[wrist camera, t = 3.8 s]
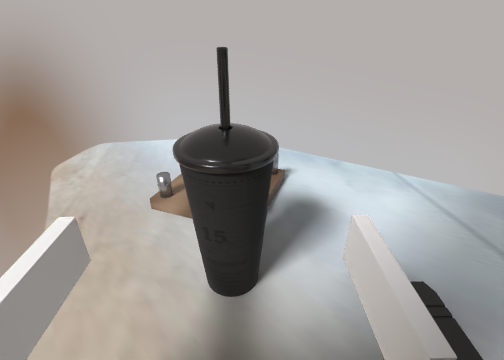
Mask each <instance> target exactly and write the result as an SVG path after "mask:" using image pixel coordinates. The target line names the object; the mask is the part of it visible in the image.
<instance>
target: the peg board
mask: <svg viewBox="0 0 504 360" xmlns="http://www.w3.org/2000/svg"><path fill="white" fill-rule="evenodd" d="M278 155H279V154H277V156H276V158H275V159H274V162H273V169H272V176H271V184H270V191H269V198H268V205H269V203H270V202H271V200H272V198H273V196H274V195H275V193H276V191H277V190H278V188H279V186H280V185H281V183H282V181H283V180H284V171H285V170H281V169H278ZM157 181H158V187H159V192H158V193H156V194H155V195H154V196H152V197H151V198H150V203H151V207H152V209H156V210H160V211H164V212H168V213H172V214H176V215H180V216H184V217H188V218H192V214H191V210H190V206H189V202H188V197H187V193H186V189H185V185H184V181H183V177H182V174H181V175H179V176H178V177H177V178H175V179H174V180H173V181H172V182H171V179H170V174H169V173H168V172H161V173H158V174H157ZM268 205H267V207H268ZM192 219H193V218H192Z"/></svg>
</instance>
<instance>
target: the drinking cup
mask: <svg viewBox="0 0 504 360" xmlns="http://www.w3.org/2000/svg"><path fill="white" fill-rule="evenodd" d="M217 64H218V82H219V83H218V84H219V102H220V119H221V120H220V121H221V124H214V125H209V126H206V127H203V128H200V129H198V130H196V131H194V132H191V133H189V134H187V135H184V136H183V137H181V138H179V139H178V140H177V141H176V142H175V144H174V146H173V155H174V158H175V159H176V161H177V162H178V163H179V164H180V168H181V173H182V177H183V181H184V185H185V189H186V193H187V197H188V202H189V206H190V210H191V214H192V218H193V222H194V226H195V231H196V235H197V239H198V243H199V247H200V251H201V255H202V259H203V264H204V268H205V272H206V276H207V280H208V284H209V286H210V287H211V288H212V289H213V290H214V291H215V292H216V293H218V294H220V295H223V296H230V297H233V296H239V295H242V294H245V293H247V292H248V291H250V290H251V289H252V288H253V287H254V285H255V284H256V282H257V278H258V271H259V263H260V256H261V249H262V242H263V234H264V227H265V220H266V213H267V205H268V198H269V191H270V184H271V176H272V169H273V162H274V159H275V158H276V156H277V154H278V151H279V145H278V142H277V140H276V139H275V138H274V137H273V136H271V135H270V134H268V133H265V132H263V131H260V130H257V129H255V128H252V127H249V126H246V125H241V124H234V123H230V104H229V77H228V49H227V47H217Z"/></svg>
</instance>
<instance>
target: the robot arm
mask: <svg viewBox="0 0 504 360" xmlns="http://www.w3.org/2000/svg"><path fill="white" fill-rule="evenodd" d="M343 259H344V262H345V264H346V266H347V269H348V271H349V274H350V276H351V279H352V281H353V284H354V286H355V289H356V291H357V293H358V296H359V298H360V301H361V303H362V306H363V308H364V311H365V313H366V315H367V318H368V320H369V323H370V325H371V328H372V330H373V333H374V335H375V337H376V340H377V342H378V345H379V347H380V350H381V352H382V355H383V357H384V360H483V359H482V358H481V356H480V355H479V353H478V352H477V350H476V349H475V348H474V346H473V345H472V343H471V342H470V340H469V339H468V337H467V336H466V335H465V333H464V332H463V330H462V329H461V327H460V326H459V325H458V323H457V322H456V320H455V319H453V318H452V315H451V313H450V312H449V310H448V309H447V308H445V305H444V303H443V302H442V300H441V299H440V297H439V296H438V295H437V293H436V292H435V291H434V290H433V289H431V288H430V287H429V286H428V285H427V284H425V283H424V282H410V281H409V280H408V278H407V276H406V275H405V273H404V272H403V270H402V268H401V267H400V265H399V264H398V262H397V260H396V259H395V257H394V256H393V254H392V252H391V251H390V249H389V248H388V246H387V244H386V243H385V241H384V240H383V238H382V237H381V235H380V233H379V232H378V230H377V229H376V227H375V225H374V224H373V222H372V221H371V219H370V217H369V216H368V215H352V218H351V223H350V227H349V232H348V237H347V241H346V246H345V251H344V255H343ZM90 261H91V259H90V256H89V254H88V251H87V248H86V246H85V243H84V240H83V237H82V235H81V232H80V229H79V226H78V224H77V221H76V218H75V217H58V218H57V219H56V220H55V221H54V223H53V224H52V225H51V226H50V227H49V228H48V229H47V230H46V231H45V232H44V233H43V234H42V235H41V236H40V237H39V238H38V240H36V241H35V243H33V245H32V246H31V247H30V248H29V249H28V250H27V251H26V252H25V253H24V254H23V255H22V256H21V257H20V258H19V259H18V260H17V261H16V262H15V263H14V264H13V265H12V267H11V268H10V269H9V270H8V271H7V272H6V273H5V274H4V275H3V276H2V277H1V278H0V360H27V358H28V356H29V355H30V353H31V352H32V350H33V349H34V347H35V346H36V344H37V343H38V341H39V339H40V338H41V336H42V335H43V333H44V332H45V330H46V329H47V327H48V326H49V324H50V323H51V321H52V319H53V318H54V316H55V315H56V313H57V312H58V310H59V309H60V307H61V306H62V304H63V302H64V301H65V299H66V298H67V296H68V295H69V293H70V292H71V290H72V289H73V287H74V286H75V284H76V282H77V281H78V279H79V278H80V276H81V275H82V273H83V272H84V270H85V269H86V267H87V265H88V264H89V262H90Z"/></svg>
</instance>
